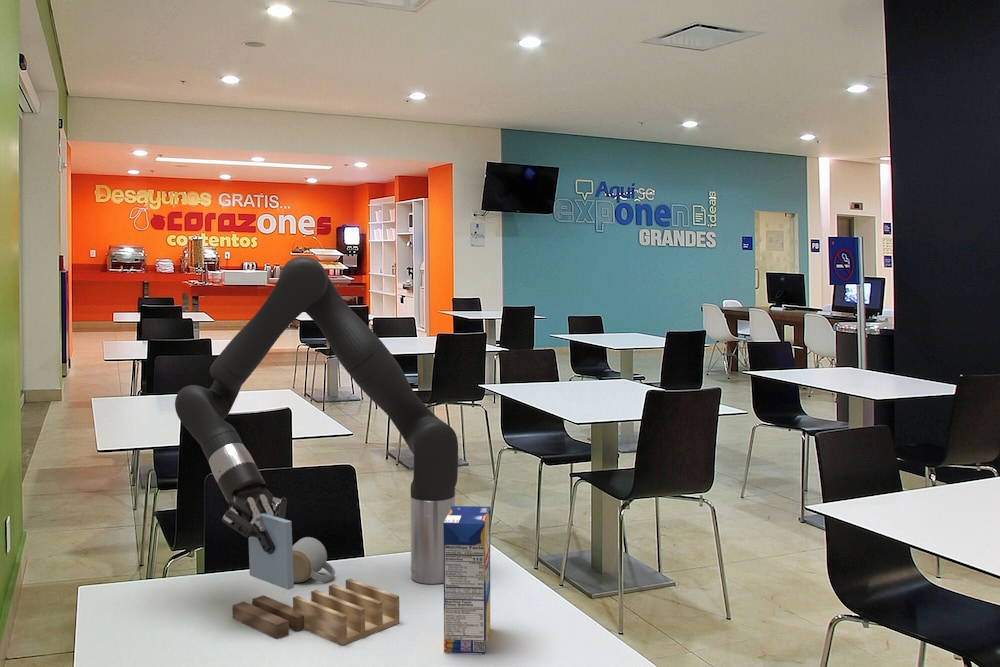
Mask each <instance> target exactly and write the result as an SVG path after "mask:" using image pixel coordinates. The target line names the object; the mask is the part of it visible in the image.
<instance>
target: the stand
mask: <svg viewBox="0 0 1000 667" xmlns="http://www.w3.org/2000/svg"><path fill="white" fill-rule="evenodd" d="M251 600H252V601H251V602H252V604H251V603H248V602H246V601H240V602H239V603H233V604H232V605H231V606H232V610H231V611H232V619H233V620H235V621H237V622H239V623H242V624H244V625H246V626H248V627H250V628H252V629H254V630H256V631H259V632H260V633H261V632H262V633H263V634H266V635H268V636H269V637H272V638H274V639H276V640H278V639H281V638H284V637H287V636H289V634H290V632H289V629H290V630H293V631H295V632H300V631H304V630H305V629H304V615H302V614H300V613H297V612H295V611H293V606H290V605H288V604H286V603H284V602H281V601H279V600H277V599H276V600H275V599H274V598H271V597H268V596H267V595H260V596H257V597H254V598H252V599H251Z"/></svg>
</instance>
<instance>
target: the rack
mask: <svg viewBox="0 0 1000 667" xmlns="http://www.w3.org/2000/svg"><path fill="white" fill-rule="evenodd" d="M310 596H311V597H310V598H311V599H307V598H305V597H302V596H299V595H296V596H293V597H292V607H293V611H295V612H297V613H300V614H302V615H304V629H303V630H305V631H308V632H310V633H312V634H315V635H317V636H319V637H321V638H324V639H326V640H329V641H330V642H333V643H335V644H338V645H340V646H342V647H343V646H345V645H348V644H350V643H354V642H356V641H359V640H361V639H363V638H365V637H368V636H370V634H371V635H373V634H375V632H376V633H377V631H378V632H381V631H383V630H385V629H384V628H386V627H388V628H390V627H389V626H391V625H393V626H395V625H394V624H396V625H398V624H400V595H397V594H394V593H392V592H389V591H386V590H384V589H380V588H378V587H375V586H372V585H370V584H367V583H363V582H361V581H358V580H355V579H352V578H347V579H345V587H342V586H339V585H336V584H334V583H332V584H329V585H328V593H325V592H322V591H320V590H317V589H314V590H311V591H310ZM397 623H398V624H397ZM391 627H392V626H391ZM382 629H383V630H382ZM386 629H387V628H386ZM380 630H381V631H380ZM372 633H373V634H372Z"/></svg>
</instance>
